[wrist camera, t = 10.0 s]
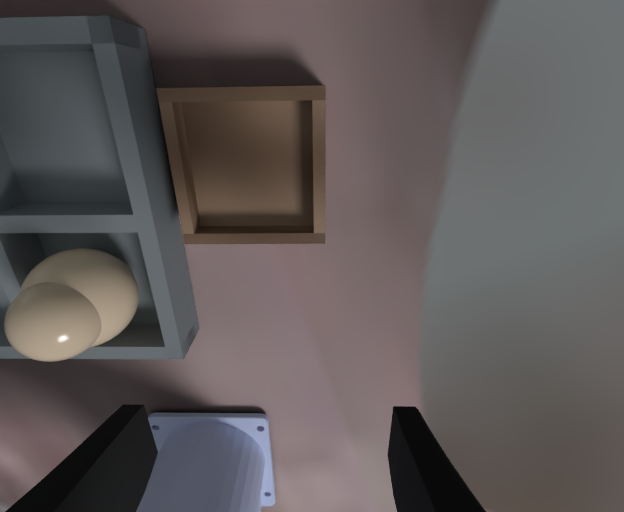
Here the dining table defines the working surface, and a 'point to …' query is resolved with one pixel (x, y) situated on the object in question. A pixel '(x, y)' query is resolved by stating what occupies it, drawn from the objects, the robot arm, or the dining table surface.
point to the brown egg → (71, 304)
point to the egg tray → (90, 172)
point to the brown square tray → (247, 162)
